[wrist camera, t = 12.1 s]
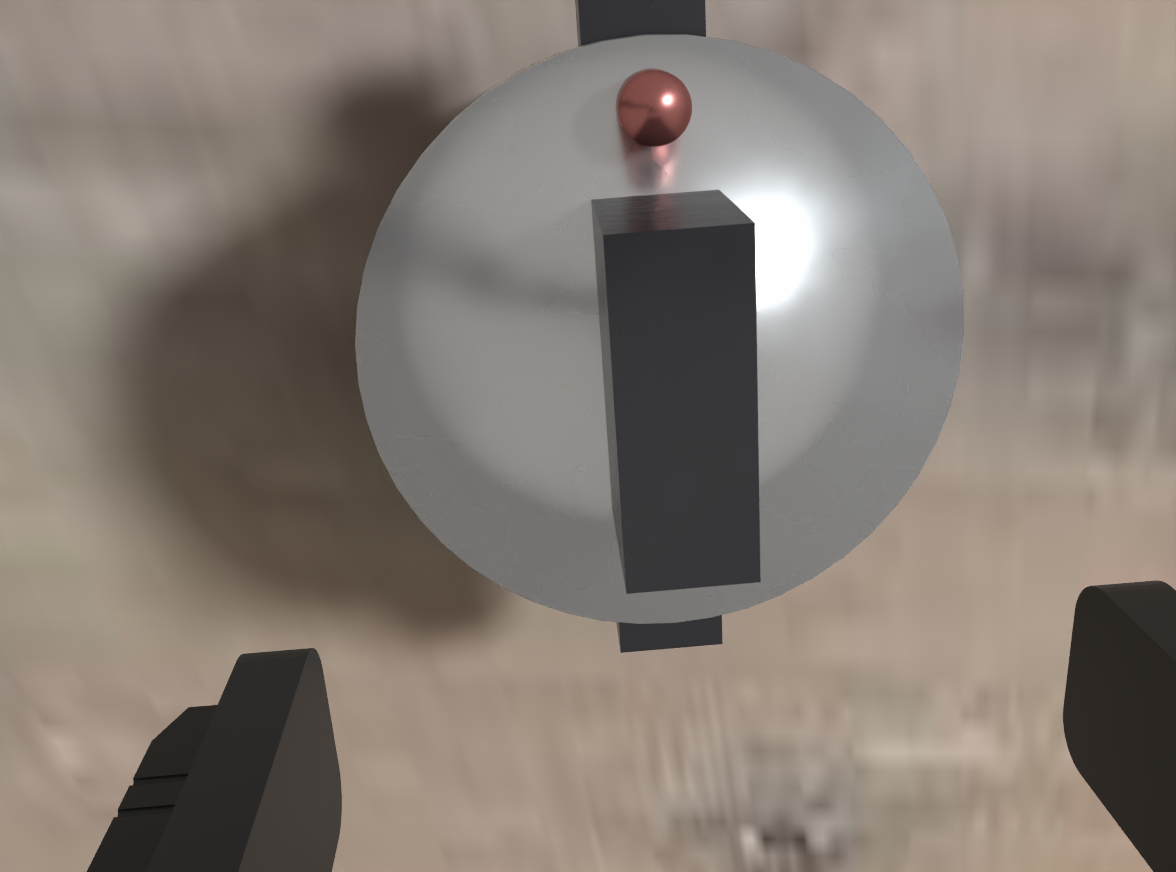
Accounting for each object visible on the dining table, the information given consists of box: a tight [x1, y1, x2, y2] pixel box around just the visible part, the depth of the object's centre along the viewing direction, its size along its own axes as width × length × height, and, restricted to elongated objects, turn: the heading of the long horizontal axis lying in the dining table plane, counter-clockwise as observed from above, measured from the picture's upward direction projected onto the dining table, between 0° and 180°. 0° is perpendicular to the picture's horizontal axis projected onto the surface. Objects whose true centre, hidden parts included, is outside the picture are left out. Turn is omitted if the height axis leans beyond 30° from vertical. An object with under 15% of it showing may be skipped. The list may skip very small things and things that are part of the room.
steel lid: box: [355, 34, 964, 624], centre depth 26 cm, size 15×15×6 cm
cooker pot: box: [575, 0, 722, 653], centre depth 32 cm, size 14×19×9 cm
